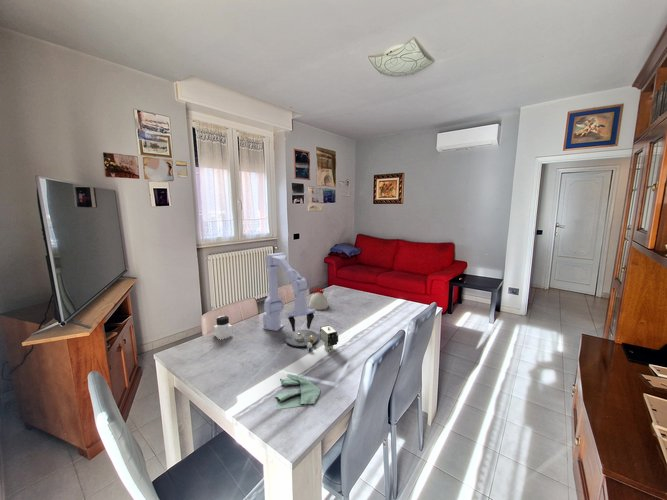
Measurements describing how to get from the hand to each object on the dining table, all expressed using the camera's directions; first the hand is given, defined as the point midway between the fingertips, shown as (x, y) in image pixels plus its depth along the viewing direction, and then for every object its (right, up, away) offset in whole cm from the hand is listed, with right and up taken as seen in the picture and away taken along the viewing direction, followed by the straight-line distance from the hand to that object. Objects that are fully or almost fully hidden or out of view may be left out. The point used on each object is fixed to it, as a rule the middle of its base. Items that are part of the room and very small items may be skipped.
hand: (301, 329), depth 138 cm
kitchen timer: (+5, -2, +57) cm, 57 cm away
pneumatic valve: (+14, -10, -2) cm, 17 cm away
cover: (-1, -7, +5) cm, 8 cm away
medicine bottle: (-43, -8, +11) cm, 45 cm away
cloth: (0, -15, -31) cm, 34 cm away
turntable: (-1, -8, +8) cm, 12 cm away
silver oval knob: (+4, -10, -2) cm, 11 cm away
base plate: (-1, -8, +8) cm, 12 cm away
